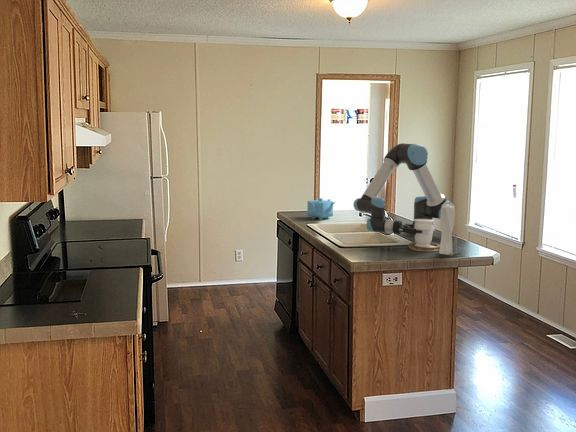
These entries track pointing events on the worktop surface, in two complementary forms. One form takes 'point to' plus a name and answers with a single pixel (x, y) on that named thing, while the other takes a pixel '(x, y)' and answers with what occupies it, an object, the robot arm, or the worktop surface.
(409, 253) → the worktop surface
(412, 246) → the coaster
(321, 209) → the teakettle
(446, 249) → the skyscraper
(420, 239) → the jar
